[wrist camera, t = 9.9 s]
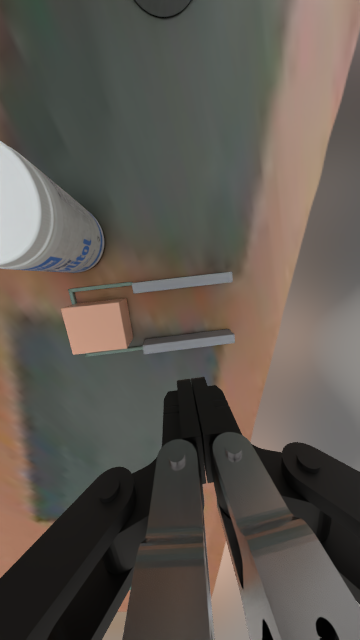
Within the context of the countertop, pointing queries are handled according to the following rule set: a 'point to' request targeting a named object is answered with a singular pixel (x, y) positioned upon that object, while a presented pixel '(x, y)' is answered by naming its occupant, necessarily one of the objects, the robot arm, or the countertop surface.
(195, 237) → the countertop surface
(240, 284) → the countertop surface
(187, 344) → the chute
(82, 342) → the block
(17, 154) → the supplement tub
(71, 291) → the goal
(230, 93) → the countertop surface
